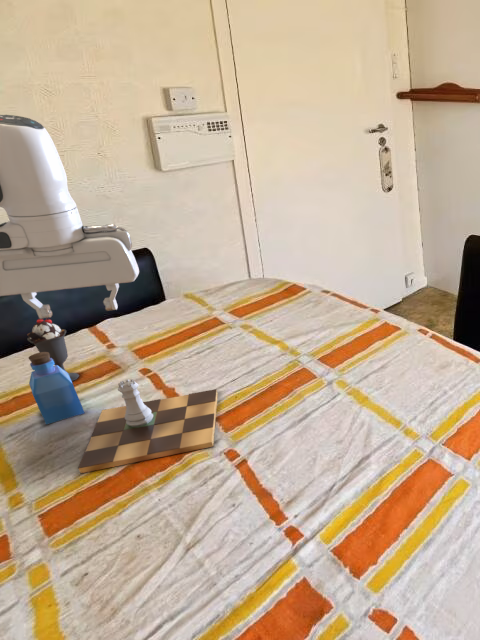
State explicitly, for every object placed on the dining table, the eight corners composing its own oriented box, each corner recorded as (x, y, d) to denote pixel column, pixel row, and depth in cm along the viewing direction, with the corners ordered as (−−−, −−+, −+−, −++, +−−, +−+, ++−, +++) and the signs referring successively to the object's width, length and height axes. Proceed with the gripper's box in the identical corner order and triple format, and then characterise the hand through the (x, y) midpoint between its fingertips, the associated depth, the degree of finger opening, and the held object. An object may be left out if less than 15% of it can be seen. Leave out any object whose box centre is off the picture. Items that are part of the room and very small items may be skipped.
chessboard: (80, 473, 101) (78, 468, 100) (103, 414, 117) (101, 409, 117) (213, 446, 107) (211, 441, 106) (217, 393, 123) (216, 389, 123)
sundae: (80, 368, 135) (54, 303, 128) (86, 379, 130) (59, 312, 123) (44, 378, 131) (15, 312, 124) (49, 389, 127) (19, 321, 120)
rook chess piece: (159, 418, 113) (146, 379, 110) (135, 430, 110) (121, 390, 106) (145, 412, 116) (131, 374, 112) (121, 423, 112) (106, 384, 108)
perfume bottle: (46, 424, 115) (20, 366, 109) (41, 411, 119) (16, 355, 113) (84, 412, 118) (61, 356, 112) (79, 400, 122) (56, 345, 117)
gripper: (128, 218, 102) (152, 298, 108) (-22, 230, 95) (13, 314, 102) (122, 227, 96) (147, 311, 103) (-37, 240, 90) (0, 328, 97)
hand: (79, 313), depth 102 cm, fingers open, 8 cm apart
